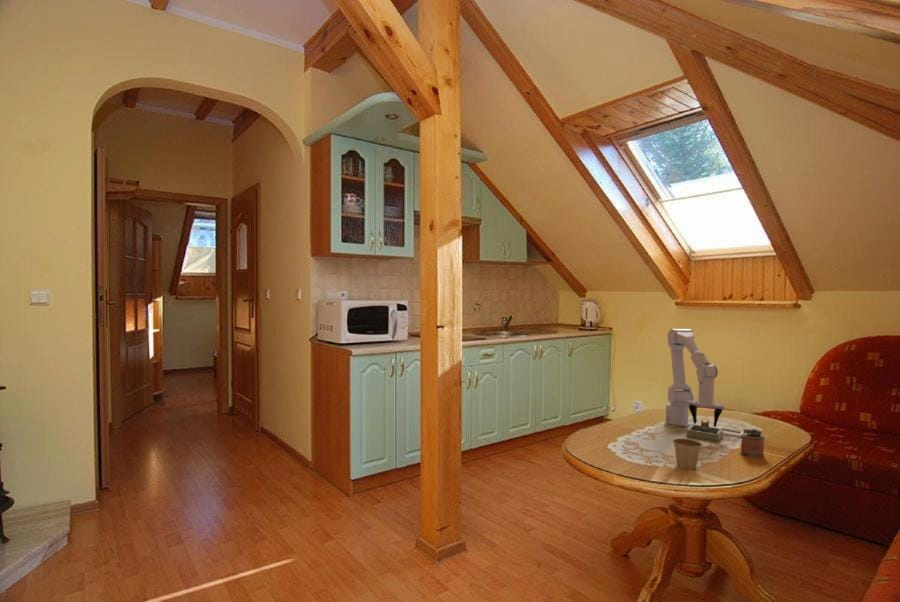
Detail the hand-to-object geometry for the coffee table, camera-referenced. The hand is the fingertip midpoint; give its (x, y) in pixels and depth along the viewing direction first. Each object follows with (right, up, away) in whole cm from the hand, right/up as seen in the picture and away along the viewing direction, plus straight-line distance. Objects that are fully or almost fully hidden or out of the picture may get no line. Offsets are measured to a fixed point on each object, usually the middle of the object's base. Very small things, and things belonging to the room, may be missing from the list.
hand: (704, 424), depth 217 cm
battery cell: (0, -4, 0) cm, 4 cm away
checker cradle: (+14, -5, +6) cm, 16 cm away
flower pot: (-26, -5, -39) cm, 47 cm away
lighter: (+5, -6, -25) cm, 26 cm away
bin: (0, -5, 0) cm, 5 cm away
